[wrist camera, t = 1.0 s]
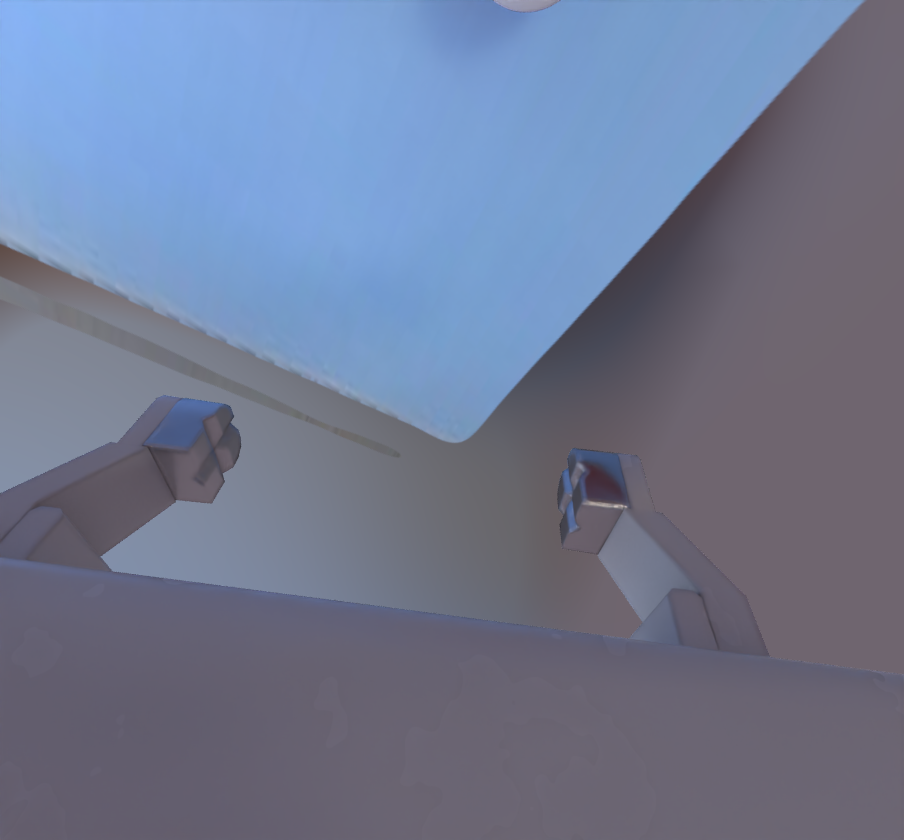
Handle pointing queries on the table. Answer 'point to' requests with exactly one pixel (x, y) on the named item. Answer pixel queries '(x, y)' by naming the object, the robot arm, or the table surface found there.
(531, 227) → the table surface
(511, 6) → the pill bottle
